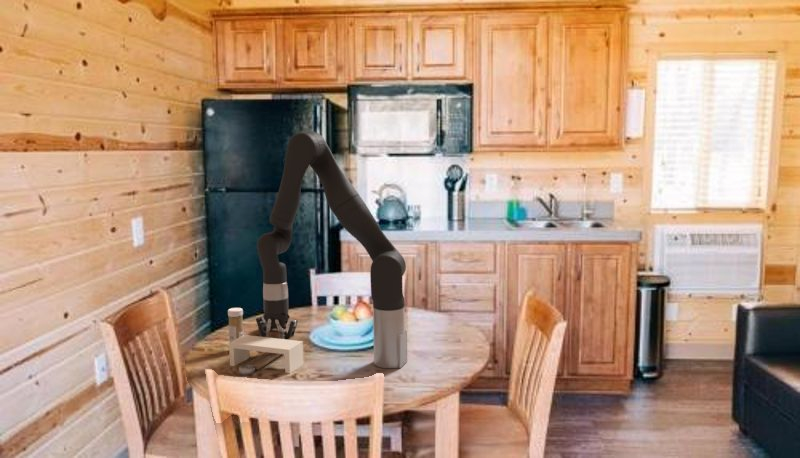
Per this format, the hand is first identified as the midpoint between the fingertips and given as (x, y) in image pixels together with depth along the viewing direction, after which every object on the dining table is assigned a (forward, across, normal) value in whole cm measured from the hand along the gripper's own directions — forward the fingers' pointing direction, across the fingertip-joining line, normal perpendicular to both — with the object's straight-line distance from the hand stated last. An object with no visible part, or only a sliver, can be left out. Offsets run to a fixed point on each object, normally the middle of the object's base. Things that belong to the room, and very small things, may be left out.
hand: (277, 350), depth 195 cm
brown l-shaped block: (+1, 0, +6) cm, 6 cm away
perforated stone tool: (+2, +14, -17) cm, 22 cm away
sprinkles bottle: (+1, +14, +1) cm, 14 cm away
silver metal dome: (+1, 0, +17) cm, 17 cm away
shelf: (+1, -2, +10) cm, 10 cm away
